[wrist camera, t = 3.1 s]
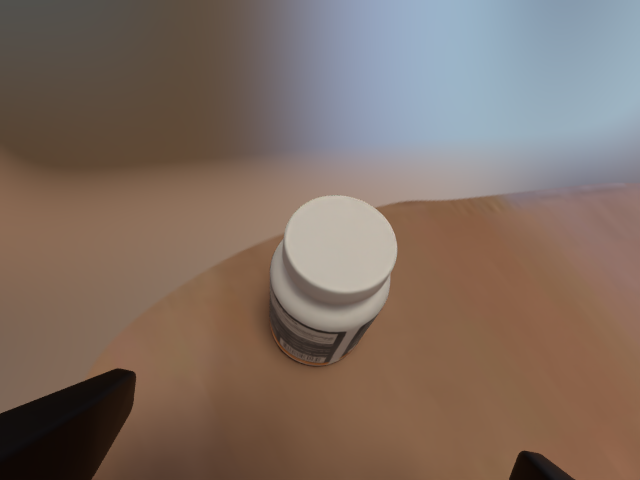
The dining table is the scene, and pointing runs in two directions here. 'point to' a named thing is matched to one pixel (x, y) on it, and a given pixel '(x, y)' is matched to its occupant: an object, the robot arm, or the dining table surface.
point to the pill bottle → (329, 278)
